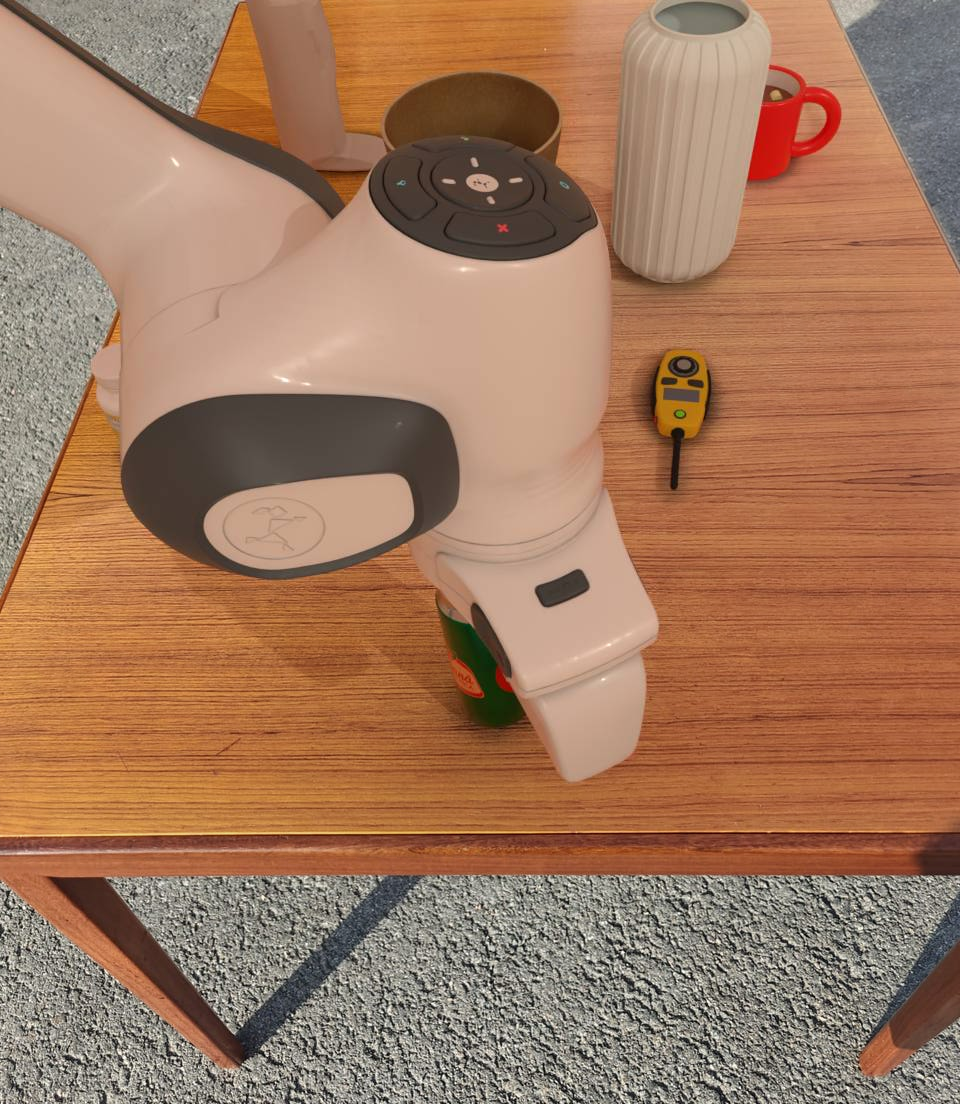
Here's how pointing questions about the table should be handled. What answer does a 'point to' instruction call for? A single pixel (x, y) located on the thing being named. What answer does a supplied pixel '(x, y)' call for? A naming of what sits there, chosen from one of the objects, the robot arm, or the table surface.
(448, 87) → the plant pot
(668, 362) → the yellow walkie talkie
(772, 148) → the mug
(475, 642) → the soda can
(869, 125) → the table surface
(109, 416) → the supplement bottle
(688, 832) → the table surface
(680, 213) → the vase
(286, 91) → the pink piece
